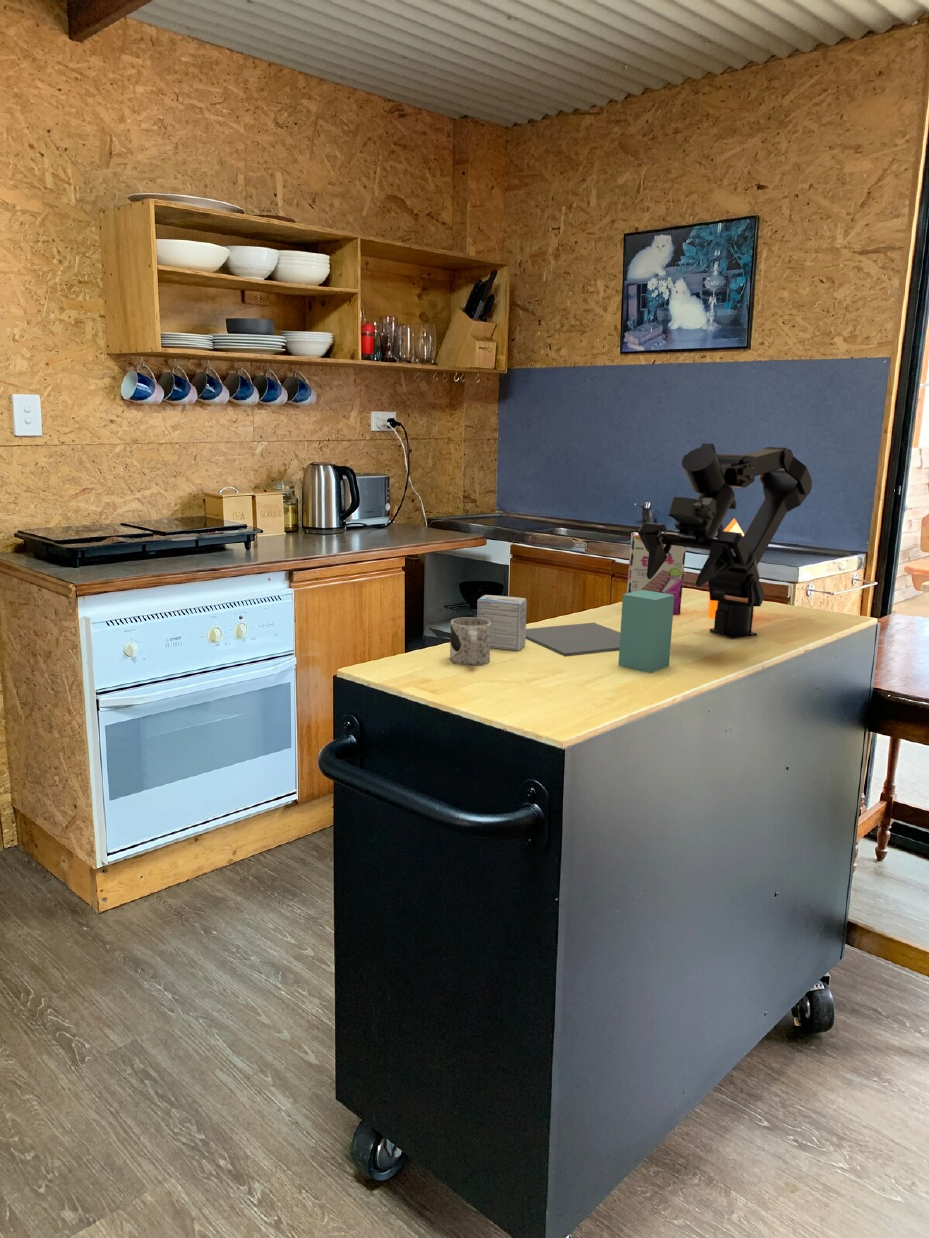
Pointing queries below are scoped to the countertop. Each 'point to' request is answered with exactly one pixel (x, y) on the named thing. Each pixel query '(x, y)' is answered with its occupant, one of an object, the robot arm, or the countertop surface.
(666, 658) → the teal block
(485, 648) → the mug
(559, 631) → the charcoal mat
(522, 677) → the countertop surface
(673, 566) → the candy bar box
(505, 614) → the medicine box
